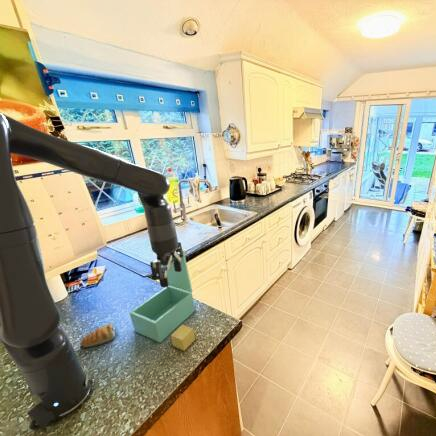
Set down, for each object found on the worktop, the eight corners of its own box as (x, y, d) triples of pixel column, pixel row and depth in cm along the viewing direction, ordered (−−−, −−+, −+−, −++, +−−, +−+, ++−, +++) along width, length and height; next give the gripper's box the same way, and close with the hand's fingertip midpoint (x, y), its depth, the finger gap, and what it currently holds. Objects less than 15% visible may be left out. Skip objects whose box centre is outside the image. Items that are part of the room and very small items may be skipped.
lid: (182, 254, 85) (193, 248, 89) (157, 248, 89) (168, 242, 94) (191, 292, 92) (200, 285, 96) (167, 284, 96) (177, 277, 101)
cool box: (160, 342, 81) (154, 323, 78) (135, 331, 86) (129, 312, 82) (195, 310, 96) (192, 293, 92) (172, 302, 100) (168, 285, 97)
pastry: (81, 353, 77) (78, 344, 76) (82, 340, 82) (78, 331, 81) (116, 338, 83) (113, 330, 81) (115, 326, 88) (112, 318, 86)
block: (184, 351, 78) (181, 340, 77) (173, 346, 80) (170, 335, 78) (195, 339, 83) (193, 328, 81) (184, 334, 84) (182, 324, 83)
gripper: (164, 225, 80) (172, 266, 86) (136, 245, 66) (148, 292, 72) (185, 226, 79) (192, 267, 85) (161, 246, 66) (171, 293, 72)
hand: (172, 278), depth 79 cm, fingers open, 8 cm apart
